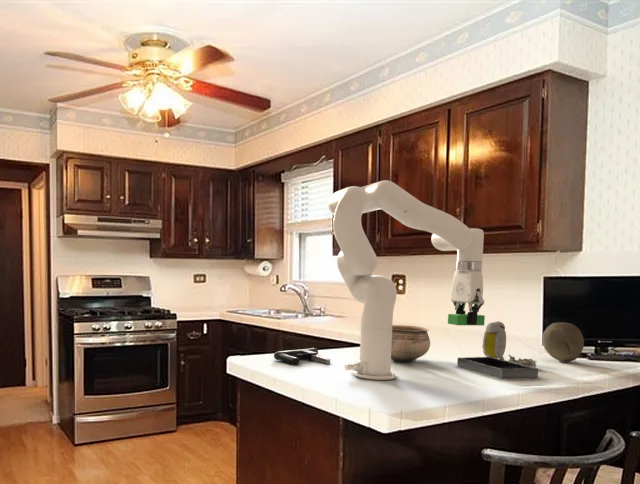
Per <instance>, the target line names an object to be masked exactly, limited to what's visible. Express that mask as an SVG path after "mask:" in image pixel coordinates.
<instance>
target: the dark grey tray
mask: <svg viewBox="0 0 640 484" xmlns="http://www.w3.org/2000/svg"><path fill="white" fill-rule="evenodd" d="M456 364H457V365H456V367H458V368H461V369H466V370H469V371H472V372H475V373H479V374H481V375H486V376H488V377H492V378H495V379H496V378H497V379H499V380H520V379H521V380H523V379H538V378H539V368H537V367H536V368H534V367H530V366H526V365H522V364H518V363H514V362H509V360H505V359H504V360H501V359H499V358H493V357H486V356H482V357H481V356H473V357H471V356H470V357H457V362H456Z"/></svg>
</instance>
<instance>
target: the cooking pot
mask: <svg viewBox="0 0 640 484" xmlns="http://www.w3.org/2000/svg"><path fill="white" fill-rule="evenodd" d="M429 330H430V329H429V328H427V327H423V326H418V325H417V326H416V325H405V324H404V325H401V324H392V345H391V360H392V361H394V362H397V363H411V362H413V361H416V360H417V359H419V358H421V357H423V356H425V355H426V354H427V353H428V352H429V350H430V348H431V339H430V336H429V333H428V331H429Z"/></svg>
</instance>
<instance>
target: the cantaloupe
mask: <svg viewBox="0 0 640 484" xmlns="http://www.w3.org/2000/svg"><path fill="white" fill-rule="evenodd" d="M542 344H543V348H544V350H545V352H546V353H547V354H548V355H549V356H550V357H552V358H553V359H555V360H557V361H559V362H562V363H570V362H574V361H575V360H577V359H578V358H579V357H580V356H581V354H582V352H583V350H584V346H585V338H584V335H583V334H582V332H581V329H579V328H578V327H577V326H576V325H575V324H573V323H569V322H553V323H551V324H550V325H548V326H547V327H546V329H545V330H544V331H543V333H542Z"/></svg>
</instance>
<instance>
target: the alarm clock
mask: <svg viewBox="0 0 640 484" xmlns="http://www.w3.org/2000/svg"><path fill="white" fill-rule="evenodd" d="M482 337H483V338H482V351H483V355H484V357H493V358H497V359H501V360H505V357H504V355H505V351H506V348H507V331H506V326H505V324H504V323H503V322H502V321H500V320H498V321H492V322H489V323H488V324H487V325H486V326H485V330H484V333H483V336H482Z"/></svg>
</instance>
